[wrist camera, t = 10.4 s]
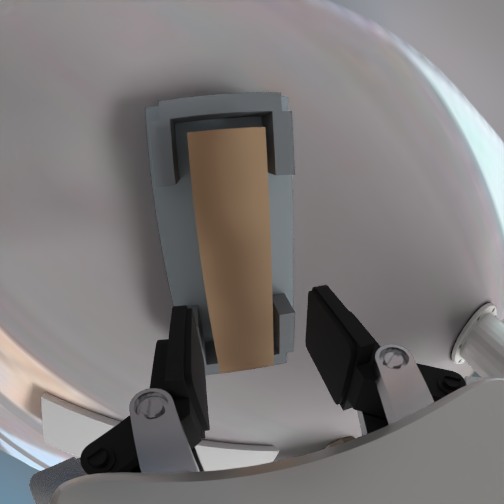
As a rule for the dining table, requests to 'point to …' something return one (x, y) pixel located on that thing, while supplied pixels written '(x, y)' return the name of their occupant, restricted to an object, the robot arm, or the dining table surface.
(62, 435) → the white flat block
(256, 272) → the slat
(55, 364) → the dining table surface
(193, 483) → the robot arm
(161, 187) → the board
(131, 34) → the dining table surface
